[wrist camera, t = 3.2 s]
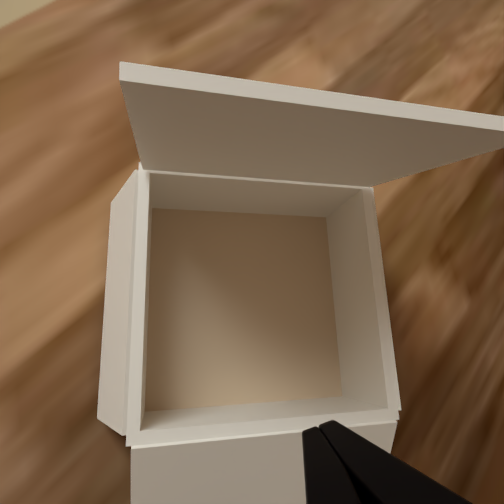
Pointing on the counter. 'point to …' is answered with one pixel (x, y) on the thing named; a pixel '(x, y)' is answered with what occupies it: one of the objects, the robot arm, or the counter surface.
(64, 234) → the counter surface
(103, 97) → the counter surface
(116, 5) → the counter surface
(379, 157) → the carton flap
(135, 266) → the carton
